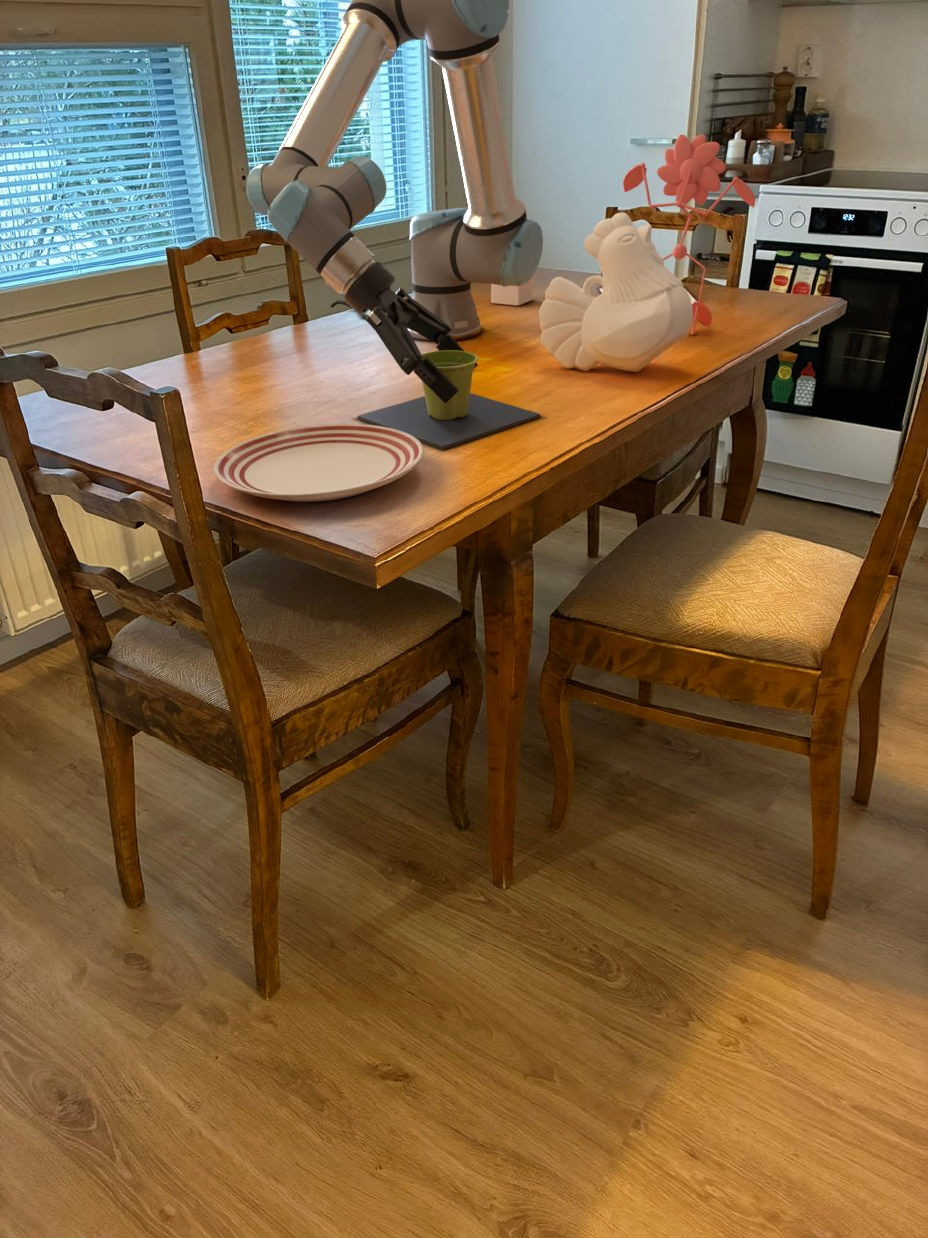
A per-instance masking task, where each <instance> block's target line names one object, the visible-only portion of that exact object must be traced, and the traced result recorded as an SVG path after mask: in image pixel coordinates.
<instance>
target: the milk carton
mask: <svg viewBox="0 0 928 1238" xmlns="http://www.w3.org/2000/svg"><path fill="white" fill-rule="evenodd" d="M526 216H527V217H528V213H527V212H526ZM534 278H535V274H534V275H533V277H532V278H531V279H530V280H529V281H528V282H527V283H526V284H524V285H522V286H506V287H503V286H502V285H494V284H490V288H491V289H490V295H491V296H490V297H491V301H490V303H493V304H497V305H507V306H516V307H517V306H521V305H524V304H525V303H529V302H531V301H533V300H534V284H535V283H534V281H535V280H534Z"/></svg>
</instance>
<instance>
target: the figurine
mask: <svg viewBox="0 0 928 1238" xmlns="http://www.w3.org/2000/svg"><path fill="white" fill-rule="evenodd" d="M720 148H721V146H720V143H719V142H717V141H708V142H707V137H706V135H704V134H698V135H697V136H695V137H694V138H692V140H691V141H689V139H688V137H687V136H686V135H685V134H680V135H678V137H677V138H676V140H675V142H674V147H673V148H666V150H665V152H664V161H665V163H666V164H665V165H662V166H660V167H658V168H657V171H656V174H657V176H658V177H659V178H660V180H661V181H663V182H664V183H665V184H664V186H663V190H662V192H663V194H664V195H665V196H668V197H669V196H670V197H675V202H670V203H669V202H668V203H657V204H656V203H655V204H652V200H651V196H650V190H649V185H648V179H647V167H646V164H645V162H641V163H640V164H636V165H634V166H633V167H632V168H631V169H629V170H628V171H627V172H626V174H625V175H624V178H623V180H622V185H623V191H624V193H627V192H630V191H632V190H634V189H636V188H637V187H639V186H640V185H641V184H642V183H643V184H644V189H645V195H646V200H647V205H648V206H649V207H648V208H649V209H654V208H663V207H665V208H666V207H674V206H675V207H677V208H680V209H681V210H682V212H684V213H685V215H686V216H687V217H688V218H687V221H686V224H685V228H684V232H683V234H682V237H681V240H680V243H679V244H677V245H675V246H674V247H673V250H672V253H670V254H669V255H667V256H665V257H663V258H662V260H663V261H666V260H667V259H669V258H671V257H674V258H675V259H677V260H682V259H684V258H685V257H686V256H687V258H690V259H691V260H692V261H693V262H695V263H696V265H698V266H700V267H701V268H703V274H702V278H701V283H700V284H701V285H700V291H699V296H698V300H696V301H697V302H696V301H695V302H694V303H693V304H692V308H693V318H692V319H693V321H692V326H691V327H692V328H691V333H690V336H694V335H695V332H696V325H697V322H698V323H699V324H701V325H703V326H704V327H706V328H708V329H710V327H711V324H712V321H713V315H712V311H711V310H710V309H709V307H708V306H707V305H706V304H705V303H704V302H701V300H702V295H703V289H704V283H705V278H706V272H707V269H706V266H705V265H703V264H702V263H700V261H698V260H697V259H695V258H694V257H693V256H692V255H690V254H689V253H688V249H687V246H685V245H684V244H683V243H684V240H685V237H686V235H687V233H688V230H689V227H690V224H691V222H692V219H693V218H692V214H691V213H690V212H689V211H688V210H690V211H693V212H695V213H697V214H700V215H702V216H704V217H708V215H709V214H710V213H711V212H712V211H713V210H714V208H715V207H716V206H717V205H718V204H719V202H720V201H721V200H722V199H723V198H724V196H725V195H726V194H727V193H728V192H729V191H730V189H731V188H732V187H733V189H734V190H735V192H736V194H737V195H738V196H739V198H740V199H741V200H742V201H744V202H745V203H746V204H747V205H748V206H750V207H751V208H754V207H755V205H756V197H755V195H754V192H753V190H752V189H751V187H749V186H748V185H747V184H746V183H745V181H744V180H742V179H740V178H739V177H738V176H734V177H733V178H732V181H731V182H730V183H729V184H728V186H727V187H726V188H725V189H724V190H723V191H722V193H721V194H720V195H719V197H718V198H716V200H715V201H714V202H713V204H712V205H711V206H710V208H708V210H707V211H704V210H701V209H698V208H696V207H694V206H691V205H688V204H689V203H690V202H691V201H692V199H693V201H694V203H695V204H696V205H698V206H704V205H705V203H706V201H707V199H708V198H709V197H708V196H709V192H712V193H717V192H719V191H720V190H721V187H722V183H721V179H720V176H719V175H720V174H723V173H724V172H725V171H726V168H727V166H726V164H725V162H724V161H722V159H721V158H718V157H717V155H718V154H719V152H720ZM725 336H726V334H724V335H721V336H720V338H723V337H725Z"/></svg>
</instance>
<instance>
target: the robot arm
mask: <svg viewBox="0 0 928 1238" xmlns="http://www.w3.org/2000/svg"><path fill="white" fill-rule="evenodd" d="M509 7H510V0H352V1H351V3H349V6H348V7H347V9H346V10H345V13H344V14H343V16H342V19H341V30H342V33H341V34H340V35H339V38H338V40H337V41H336V44H335V45H334V47H333V49H332V51H331V53H330V54H329V57H328V58H327V59H326V62H325V64H324V65H323V67H322V69H321V71H320V73H319V74H318V77H317V79H316V80H315V83H314V85H313V86H312V88H311V90H310V92H309V94H308V95H307V97H306V99H305V101H304V103H303V105H302V107H301V108H300V110H299V112H298V113H297V116H296V117H295V119H294V121H293V124H292V125H291V127H290V129H289V131H288V133H287V134H286V137H285V138H284V140H283V141H282V143H281V146H280V147H279V150H278V152H277V153H276V155H275V157H274V159H273V161H272V162H271V163H268V162H267V163H262V164H258V165H256V166H255V167H253V168H252V169H251V170H250V172H249V173H248V175H247V179H246V183H245V185H246V187H245V188H246V196H247V200H248V201H249V203H250V205H251V206H252V208H253V210H254V211H255V212H257V213H259V214H260V215H262V216H266V217H267V220H268V222H269V224H270V225H271V226H272V227H273V228H274V230H275V231H276V232H277V233H278V234H279V235H280V236H281V238H282V239H283V241H284V242H285V243H287V244H288V245H289V246H290V247H291V248H292V249H293V250H294V251H295V252H296V253H297V254H298V255H299V256H300V257H301V258H302V259H304V260H305V262H306V263H308V265H310V266H311V268H313V269H314V271H316V272H317V274H318V275H320V276H321V277H322V278H323V279H324V280H325V282H324V283H325V286H327V287H332V288H333V289H334V291H335V292H336V293H338V294H339V295H341V294H344V297H343V298H344V300H342V299H337V300H334V301H332V302H331V304H330V305H329V308H334V307H336V306H337V305H344V306H345V307H348V308H350V309H352V310H354V311H355V312H356V314H358V315H359V316H360V317H361V318H364V319H365V321H366V322H367V324H369V326H370V327H371V328H372V329H373V330H374V332H375V333H376V334H377V335H378V337H379V338H380V340H381V341H382V343H383V345H384V346H385V347H386V349H387V351H388V352H389V353H390V355H391V356H392V358H393V359H394V361H395V362H396V364H397V365H398V366H399V368H400V369H401V371H403V373H404V374H405V375H407V376H410V375H411V374H412V373H414V374H415V375H416V376H417V377H418V378H419V379H420V380H421V382H422V381H423V382H424V383H425V384H426V385H427V386H428V387H429V388H430V389H431V390H432V391H433V392H434V393H435V394H436V395H437V396H438V397H439V398H440V399H441V400H442V401H443V402H444V403H445V404H446V403H447V402H448V401H449V400H450V399H451V398H452V397H453V396H454V395H455V394H456V393H457V392H458V391H459V390H458V389H457V387H456V386H455V385H454V384H453V383H452V382H451V381H450V380H449V379H448V378H447V377H446V376H445V375H444V374H443V373H442V372H441V371H440V370H439V369H438V368H437V367H436V366H435V365H434V364H433V363H432V362H431V361H430V360H429V359H428V358H427V357H426V359H425V360H424V359H423V357H422V355H421V354H422V353H421V351H420V349H419V347H418V346H417V343H416V342H415V339H416V340H421V341H429V342H432V343H434V344H436V347H435V348H436V349H437V351H443V350H458V351H465V349H464V348H463V347H462V346H461V345H460V344H459V343H458V342H457V340H464V339H469V338H472V337H475V336H477V335H479V334H480V333H481V331H482V330H481V320H480V319H481V318H480V317H479V315H478V311H477V308H476V305H475V301H474V298H473V295H472V285H471V284H472V283H475V284H484V285H485V284H486V285H491V284H494V285H502V286H503V287H506V286H522V285H524V284H526V283H527V282H528V281H529V280H530V279H531V278H532V277H533V275H534V276H535V273H536V272H537V270H538V267H539V265H540V261H541V258H542V254H543V247H544V236H543V234H544V233H543V230H542V228H541V225H540V224H539V223H538V222H537V221H534V220H532V219H528V215H527V216H526V213H527V211H526V210H527V209H526V206H525V205H526V204H525V203H524V202H523V200H520V199H519V198H517V197H516V193H515V188H514V182H513V175H512V174H513V173H512V168H511V161H510V157H509V150H508V149H509V148H508V144H507V137H506V131H505V124H504V118H503V111H502V105H501V100H500V93H499V87H498V81H497V73H496V68H495V62H494V52H495V51H496V49H497V48H498V46H499V44H500V42H501V41H500V34H501V33H502V32H503V30H504V29H505V28H506V24H507V22H508V18H509V13H508V12H507V10H509ZM415 40H416V41H422V40H423V41H425V40H426V43H427V49H428V54H429V57H430V60H431V61H433V62H435V63H436V64H437V65H439V66H440V68H441V71H442V76H443V77H442V78H443V82H444V87H445V90H446V91H445V92H446V97H447V102H448V107H449V112H450V117H451V122H452V127H453V133H454V139H455V144H456V148H457V153H458V159H459V164H460V169H461V174H462V180H463V185H464V190H465V195H466V200H467V204H468V205H467V206H468V207H454V208H446V209H440V210H434V211H428V212H423V213H418V214H416V215H414V216H413V217H412V218H411V220H410V222H409V238H408V240H409V241H408V242H409V247H410V248H409V249H410V263H411V267H410V268H411V283H412V296H410V295H409V294H408V293H407V292H406V291H405V290H404V289H403V288H401V287H399V289H398V290H397V291H396V292H395V291H393V290H392V289H391V287H392V286H393V284H394V283H395V282H396V277H395V275H393V273H392V272H391V271H390V270H389V269H388V268H387V267H386V266H385V265H384V264H383V263H382V262H381V261H375V254H374V253H373V252H372V251H371V250H370V249H369V248H368V247H367V246H366V245H365V244H364V243H363V242H362V241H361V240H360V239H359V238H358V237H357V236H356V235H355V234H354V233H353V232H352V231H351V229H353V228H354V227H355V226H357V224H360V222H362V221H363V220H364V219H365V218H367V217H368V216H369V215H370V214H372V213H374V212H375V209H376V208H377V207H378V206H379V205H380V204H381V203H382V202H383V201H384V199H385V198H386V195H387V188H388V186H387V181H386V178H385V175H384V173H383V171H382V169H381V168H380V167H379V165H378V164H377V163H376V162H375V161H374V160H372V159H371V158H369V157H367V156H363V155H357V156H354V157H352V158H350V159H347V160H345V161H344V162H343V164H342V165H340V166H329V165H330V163H331V162H332V159H333V158H334V155H335V154H336V152H337V150H338V148H339V147H340V144H341V142H342V141H343V138H344V137H345V135H346V133H347V131H348V129H349V128H350V125H351V123H352V121H353V120H354V118H355V116H356V115H357V112H358V110H359V108H360V106H361V104H362V103H363V101H364V99H365V97H366V95H367V93H368V92H369V89H370V88H371V86H372V85H373V84H372V83H373V82H374V81H375V78H376V76H377V74H378V73H379V70H380V69H381V67H382V65H383V63H385V62H388V61H390V60H392V59H393V58H394V56H395V54H396V53H397V51H398V49H399V47H401V46H402V45H404V44H405V43H407V42H410V41H415ZM369 311H370V312H369ZM368 312H369V313H368ZM367 313H368V314H367ZM423 360H424V361H423ZM477 367H479V364H478V362H476V363H475V368H474V370H475V369H476V368H477Z"/></svg>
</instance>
